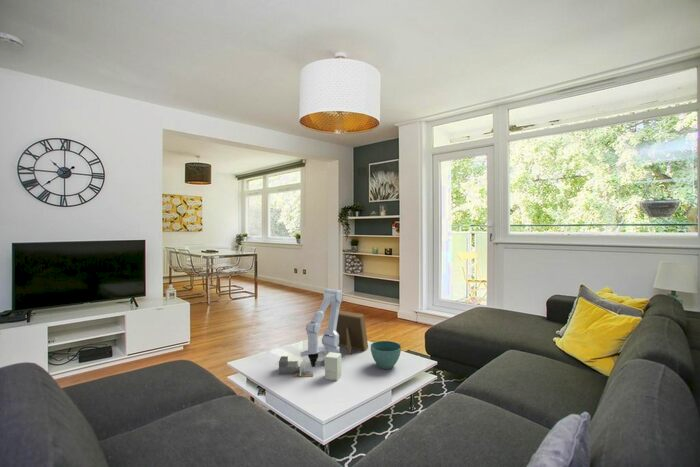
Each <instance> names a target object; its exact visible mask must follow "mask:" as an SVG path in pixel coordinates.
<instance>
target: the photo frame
mask: <svg viewBox="0 0 700 467" xmlns="http://www.w3.org/2000/svg"><path fill="white" fill-rule="evenodd" d="M365 318H366V317H365V314H363V313H357V312H351V311H345V310H340V309H339V314H338V321H337V327H336V332H337V333H338V334H339V345H338V346H342V347H345V348H346V350H347V351H346V352H347V354H349V355H352V349H353V350H359V351H363V352H366V351H367V350H368V349H369V344H368V335H367V328H366V319H365Z"/></svg>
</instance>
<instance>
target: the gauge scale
mask: <svg viewBox="0 0 700 467" xmlns="http://www.w3.org/2000/svg"><path fill="white" fill-rule="evenodd" d="M313 376H314V373H313V372H312V373H301V376H300V373H296V374H292V378H310V377H311V378H313Z"/></svg>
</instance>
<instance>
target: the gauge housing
mask: <svg viewBox="0 0 700 467" xmlns="http://www.w3.org/2000/svg"><path fill="white" fill-rule="evenodd" d="M297 367H299V366H298V361H296V360H294V361H292V360H291V361H289V356H288V355H287V356H283V355H282V356H280V358H279V360H278V375H293V374H297V371H298V369H297Z"/></svg>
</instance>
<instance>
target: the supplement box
mask: <svg viewBox="0 0 700 467" xmlns="http://www.w3.org/2000/svg"><path fill="white" fill-rule="evenodd" d="M324 358H325V363H324V376H325V377H324V378H325V380H328V381H339V379H340V378H341V377H342V374H343V373H342V353H340V352H339V353H333V352H329V353H328V354H327V355H326V356H325V355H324Z"/></svg>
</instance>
